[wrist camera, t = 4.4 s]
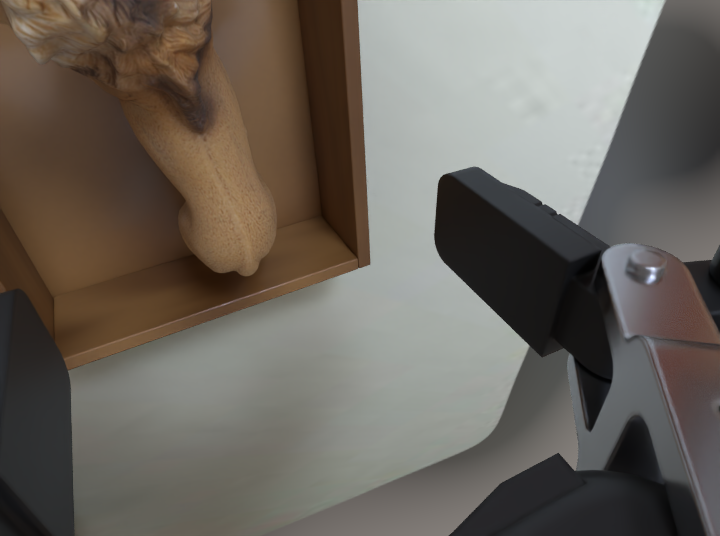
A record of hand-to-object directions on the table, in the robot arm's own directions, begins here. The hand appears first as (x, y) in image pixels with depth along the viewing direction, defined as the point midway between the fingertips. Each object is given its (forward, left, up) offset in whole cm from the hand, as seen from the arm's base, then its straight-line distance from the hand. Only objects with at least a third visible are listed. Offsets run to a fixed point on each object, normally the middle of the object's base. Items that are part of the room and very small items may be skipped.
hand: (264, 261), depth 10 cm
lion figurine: (-1, 0, -12) cm, 12 cm away
